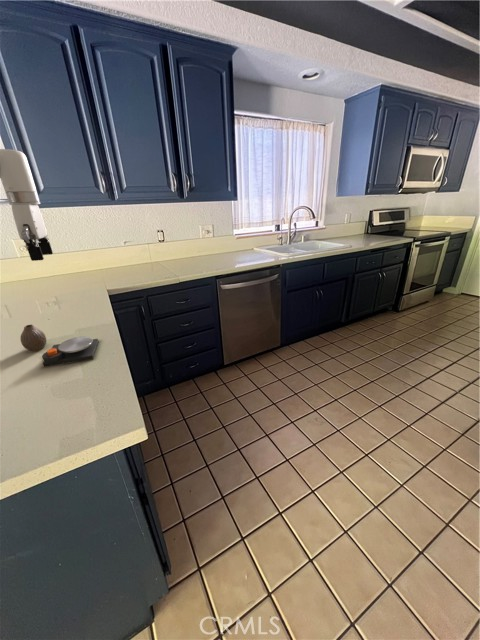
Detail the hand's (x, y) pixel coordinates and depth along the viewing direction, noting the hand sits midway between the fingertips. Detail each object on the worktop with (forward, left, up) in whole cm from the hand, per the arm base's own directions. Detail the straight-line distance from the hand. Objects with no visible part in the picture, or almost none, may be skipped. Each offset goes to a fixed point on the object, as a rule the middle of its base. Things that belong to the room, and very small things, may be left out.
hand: (42, 257), depth 85 cm
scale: (+4, -11, -31) cm, 33 cm away
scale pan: (+5, -11, -28) cm, 30 cm away
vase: (-9, -3, -31) cm, 32 cm away
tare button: (-1, -15, -28) cm, 32 cm away
